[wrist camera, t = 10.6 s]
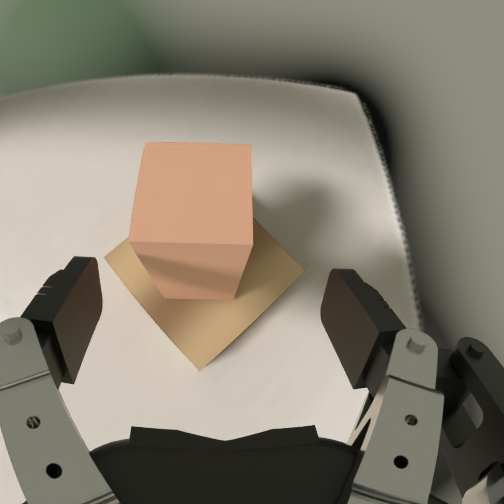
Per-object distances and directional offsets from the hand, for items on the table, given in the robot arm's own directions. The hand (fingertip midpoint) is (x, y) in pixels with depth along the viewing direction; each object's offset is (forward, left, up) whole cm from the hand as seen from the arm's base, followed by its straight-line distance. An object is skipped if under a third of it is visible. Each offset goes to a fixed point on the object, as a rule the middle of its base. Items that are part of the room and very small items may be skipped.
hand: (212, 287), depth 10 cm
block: (-3, +2, -8) cm, 9 cm away
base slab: (-2, +2, -11) cm, 12 cm away
